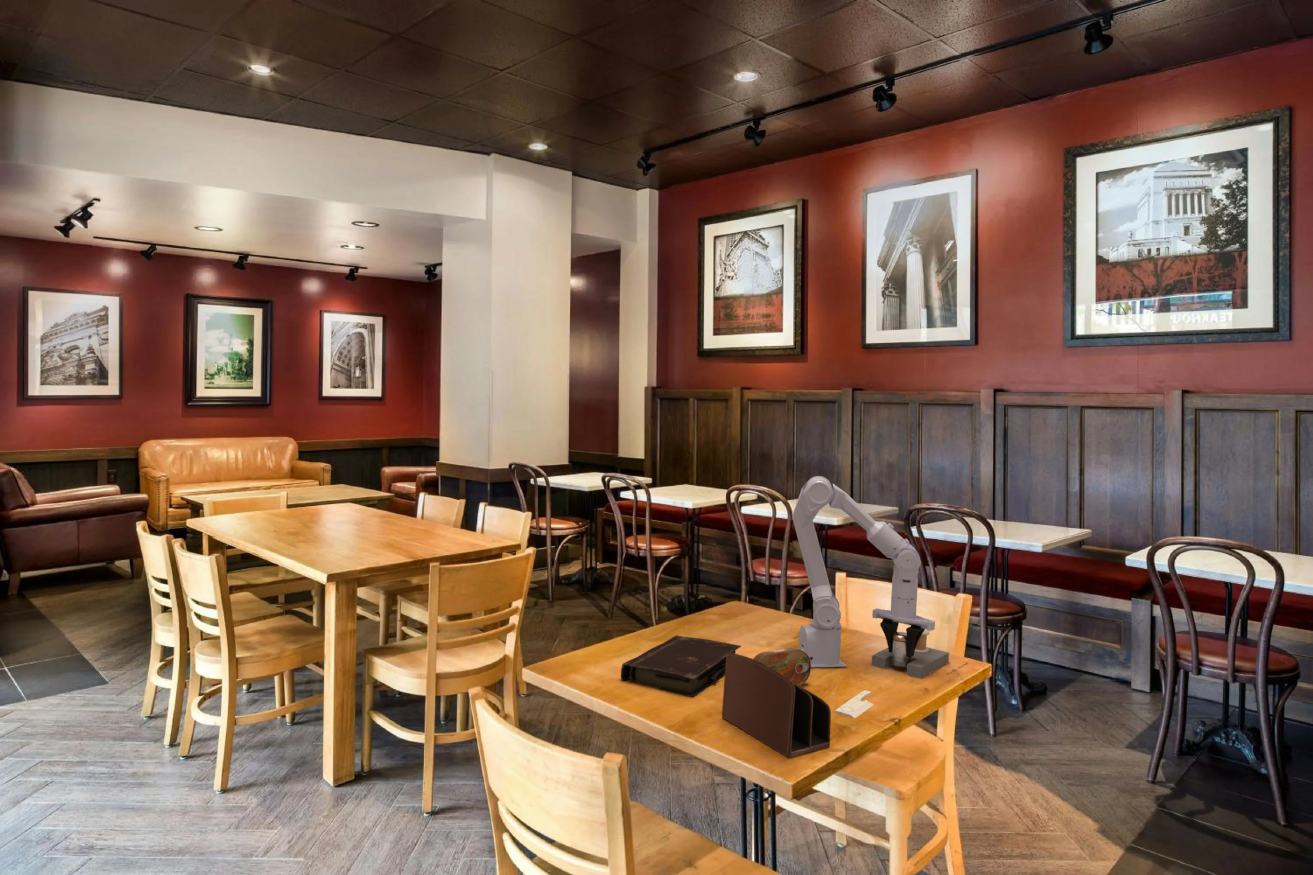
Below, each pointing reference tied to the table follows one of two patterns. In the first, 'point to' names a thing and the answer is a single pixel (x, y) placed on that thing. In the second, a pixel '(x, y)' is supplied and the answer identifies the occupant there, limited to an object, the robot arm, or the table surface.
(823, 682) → the table surface
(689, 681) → the diary
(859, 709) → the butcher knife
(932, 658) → the notched board
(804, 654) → the tin
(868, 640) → the table surface
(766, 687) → the letter holder
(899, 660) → the peg
